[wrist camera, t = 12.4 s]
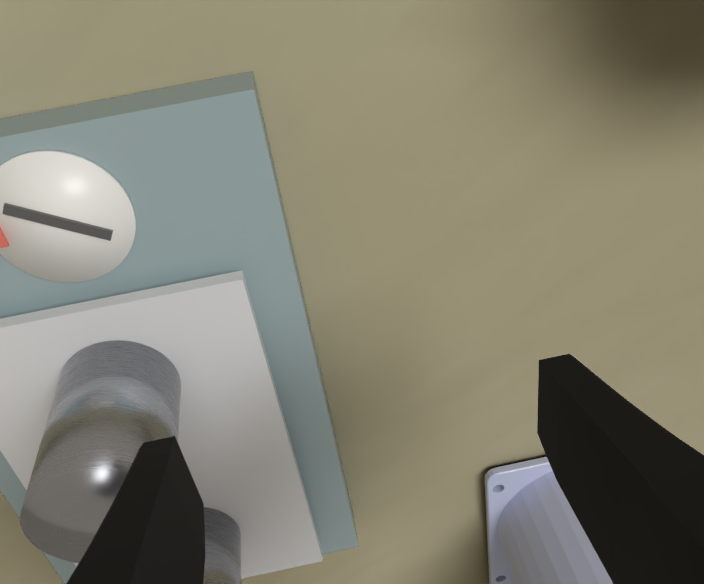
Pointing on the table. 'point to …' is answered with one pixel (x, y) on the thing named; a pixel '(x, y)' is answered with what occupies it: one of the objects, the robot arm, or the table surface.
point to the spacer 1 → (96, 440)
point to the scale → (172, 301)
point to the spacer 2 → (221, 548)
